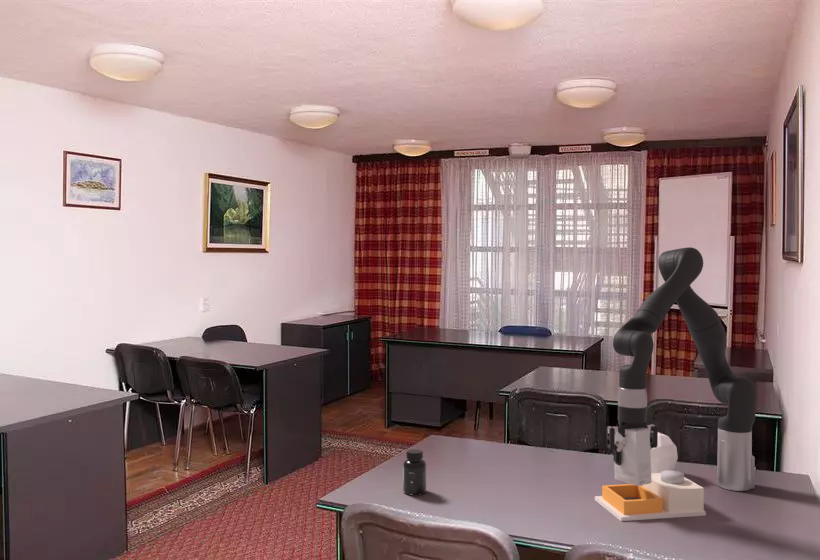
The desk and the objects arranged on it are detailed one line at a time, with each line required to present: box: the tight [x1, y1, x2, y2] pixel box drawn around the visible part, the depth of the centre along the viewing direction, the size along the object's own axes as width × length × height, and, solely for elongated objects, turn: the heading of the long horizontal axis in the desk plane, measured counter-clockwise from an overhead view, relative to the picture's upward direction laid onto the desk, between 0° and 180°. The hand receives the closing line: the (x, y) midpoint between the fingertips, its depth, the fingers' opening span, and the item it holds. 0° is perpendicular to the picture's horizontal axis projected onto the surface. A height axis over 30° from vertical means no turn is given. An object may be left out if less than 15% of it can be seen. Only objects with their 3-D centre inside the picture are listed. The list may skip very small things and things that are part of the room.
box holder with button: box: [594, 470, 707, 522], centre depth 189 cm, size 24×16×9 cm, turn 99°
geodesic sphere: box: [650, 431, 679, 473], centre depth 217 cm, size 15×14×14 cm
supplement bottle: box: [402, 448, 427, 496], centre depth 201 cm, size 7×7×12 cm
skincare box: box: [613, 425, 651, 486], centre depth 188 cm, size 8×6×15 cm
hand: (631, 463), depth 188 cm, fingers closed on skincare box, 7 cm apart
